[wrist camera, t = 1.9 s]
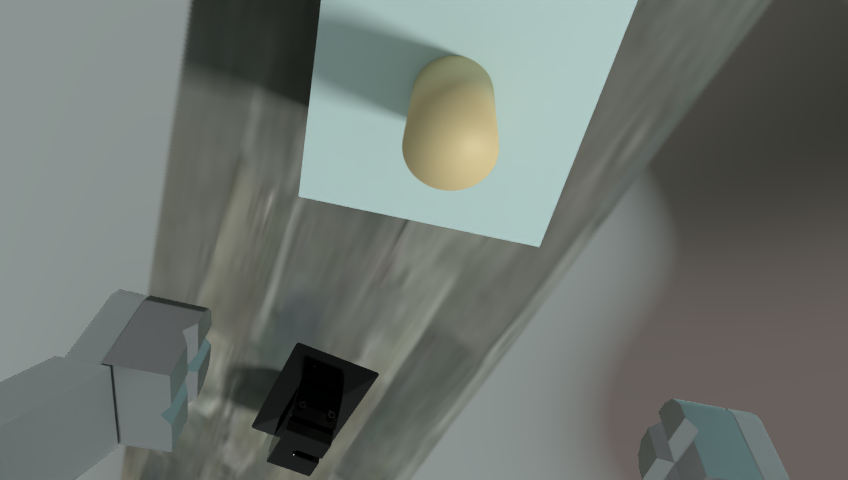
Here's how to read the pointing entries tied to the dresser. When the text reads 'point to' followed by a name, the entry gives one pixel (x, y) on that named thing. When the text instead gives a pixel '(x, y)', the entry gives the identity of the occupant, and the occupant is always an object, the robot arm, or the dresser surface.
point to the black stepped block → (310, 406)
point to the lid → (456, 107)
